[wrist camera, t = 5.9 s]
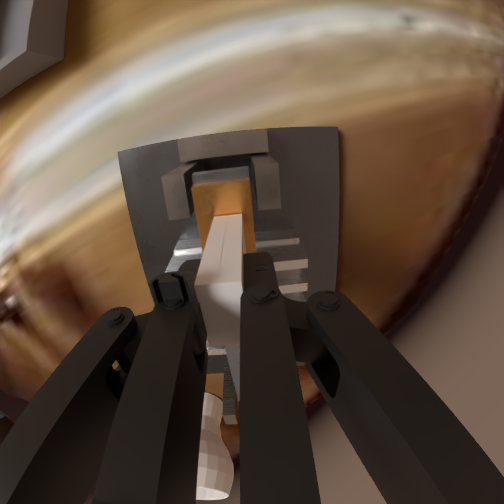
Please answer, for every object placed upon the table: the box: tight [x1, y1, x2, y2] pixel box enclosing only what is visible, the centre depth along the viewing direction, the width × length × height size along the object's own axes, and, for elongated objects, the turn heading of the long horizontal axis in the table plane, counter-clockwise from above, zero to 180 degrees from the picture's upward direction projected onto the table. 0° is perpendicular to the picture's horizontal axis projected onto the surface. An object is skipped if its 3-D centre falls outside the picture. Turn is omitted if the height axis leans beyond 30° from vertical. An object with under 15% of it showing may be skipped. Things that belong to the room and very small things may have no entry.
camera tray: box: [0, 0, 69, 98], centre depth 9 cm, size 14×21×6 cm
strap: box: [191, 166, 256, 409], centre depth 19 cm, size 23×3×2 cm, turn 5°
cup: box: [196, 392, 234, 500], centre depth 29 cm, size 11×11×15 cm
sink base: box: [118, 127, 340, 424], centre depth 22 cm, size 26×18×9 cm
